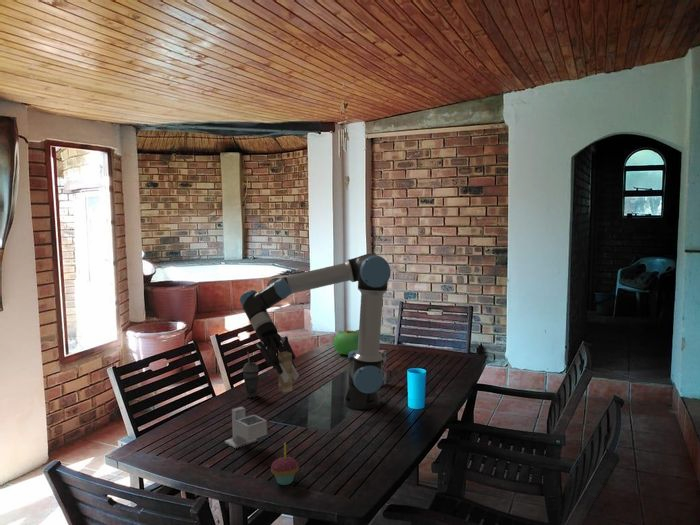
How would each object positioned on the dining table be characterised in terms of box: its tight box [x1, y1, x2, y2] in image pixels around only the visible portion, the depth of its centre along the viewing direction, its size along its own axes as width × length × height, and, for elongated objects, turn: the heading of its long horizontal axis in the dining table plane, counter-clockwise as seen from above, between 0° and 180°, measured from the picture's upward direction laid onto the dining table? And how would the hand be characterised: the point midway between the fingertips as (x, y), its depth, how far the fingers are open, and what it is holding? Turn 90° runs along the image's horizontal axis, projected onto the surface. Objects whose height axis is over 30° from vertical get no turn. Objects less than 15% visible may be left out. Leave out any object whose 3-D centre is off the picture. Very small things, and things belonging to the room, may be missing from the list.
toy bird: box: [332, 329, 359, 356], centre depth 305 cm, size 18×17×15 cm
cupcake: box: [270, 442, 300, 486], centre depth 160 cm, size 9×8×12 cm
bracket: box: [224, 406, 268, 450], centre depth 185 cm, size 14×9×12 cm, turn 44°
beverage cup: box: [241, 351, 260, 399], centre depth 235 cm, size 7×7×20 cm
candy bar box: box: [379, 349, 387, 387], centre depth 252 cm, size 11×5×16 cm, turn 68°
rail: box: [277, 351, 293, 394], centre depth 192 cm, size 4×4×14 cm
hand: (291, 379), depth 189 cm, fingers closed on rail, 3 cm apart
